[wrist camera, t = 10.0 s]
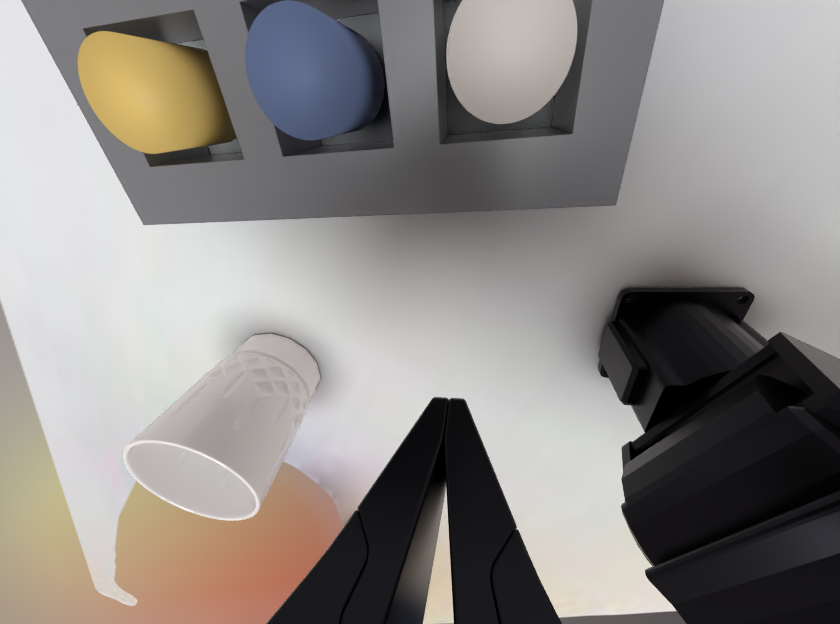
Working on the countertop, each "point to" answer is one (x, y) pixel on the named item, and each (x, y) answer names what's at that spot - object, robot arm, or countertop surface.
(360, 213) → the key block
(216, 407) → the white cup
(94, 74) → the ochre key
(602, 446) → the countertop surface
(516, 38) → the white key
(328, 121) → the navy key
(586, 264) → the countertop surface
